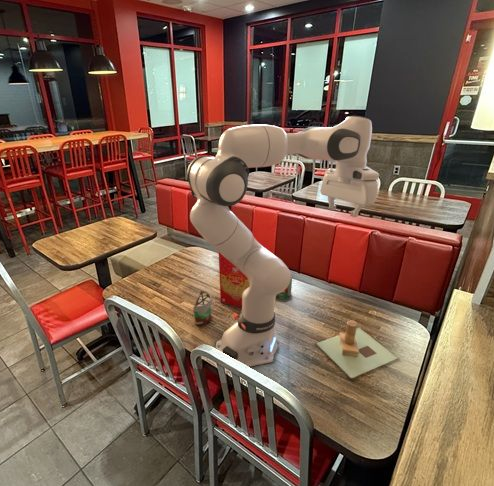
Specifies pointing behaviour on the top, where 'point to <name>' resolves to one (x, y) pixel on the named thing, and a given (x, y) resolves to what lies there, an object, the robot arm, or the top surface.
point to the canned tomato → (285, 293)
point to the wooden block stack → (349, 340)
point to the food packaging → (231, 282)
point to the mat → (367, 358)
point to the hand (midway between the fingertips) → (342, 213)
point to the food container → (203, 308)
